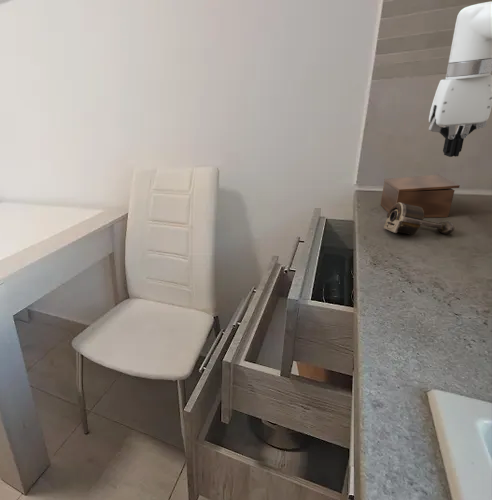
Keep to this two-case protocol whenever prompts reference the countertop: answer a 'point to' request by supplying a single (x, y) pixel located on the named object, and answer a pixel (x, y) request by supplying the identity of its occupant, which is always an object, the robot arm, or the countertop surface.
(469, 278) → the countertop surface
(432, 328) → the countertop surface
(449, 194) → the keepsake box
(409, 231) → the security camera
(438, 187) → the lid
